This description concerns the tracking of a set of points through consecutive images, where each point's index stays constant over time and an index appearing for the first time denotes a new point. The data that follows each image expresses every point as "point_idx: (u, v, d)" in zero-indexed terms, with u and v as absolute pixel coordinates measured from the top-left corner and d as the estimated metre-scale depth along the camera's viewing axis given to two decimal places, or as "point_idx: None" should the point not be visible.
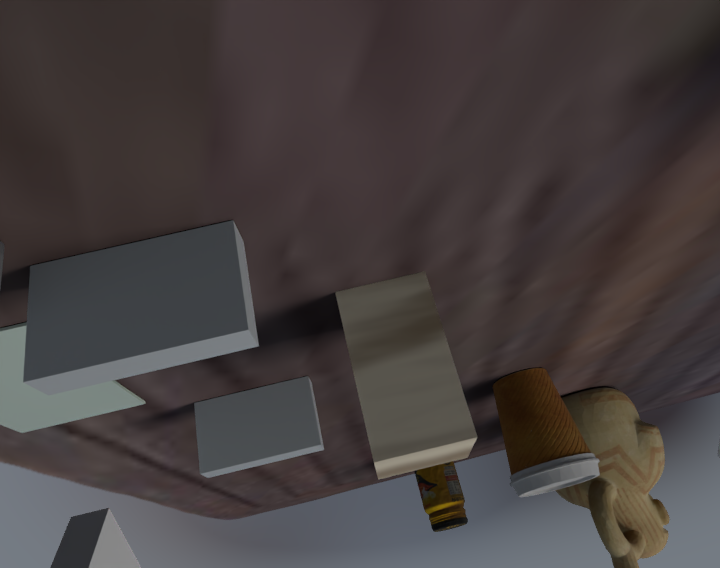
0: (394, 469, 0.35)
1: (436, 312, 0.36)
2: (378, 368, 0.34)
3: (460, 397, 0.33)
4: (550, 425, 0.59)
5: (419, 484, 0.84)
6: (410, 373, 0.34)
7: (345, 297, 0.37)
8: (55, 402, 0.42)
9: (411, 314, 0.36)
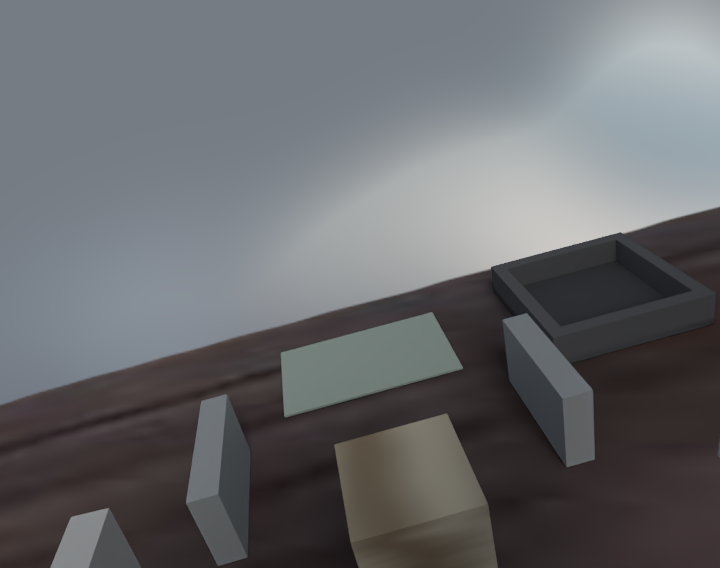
0: (380, 447, 0.28)
1: None
2: None
3: None
4: None
5: None
6: None
7: None
8: (328, 370, 0.53)
9: None
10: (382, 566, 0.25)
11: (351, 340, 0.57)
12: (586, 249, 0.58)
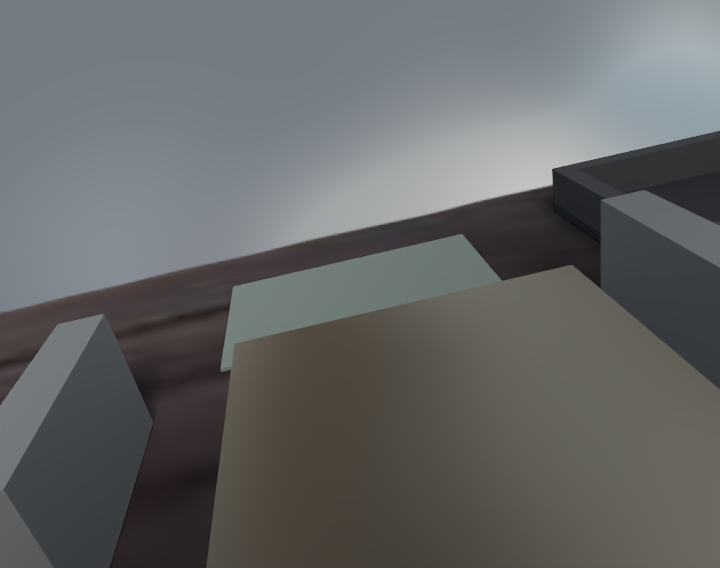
0: (372, 347, 0.09)
1: None
2: None
3: None
4: None
5: None
6: None
7: None
8: (300, 306, 0.34)
9: None
10: None
11: (339, 269, 0.38)
12: (697, 145, 0.38)
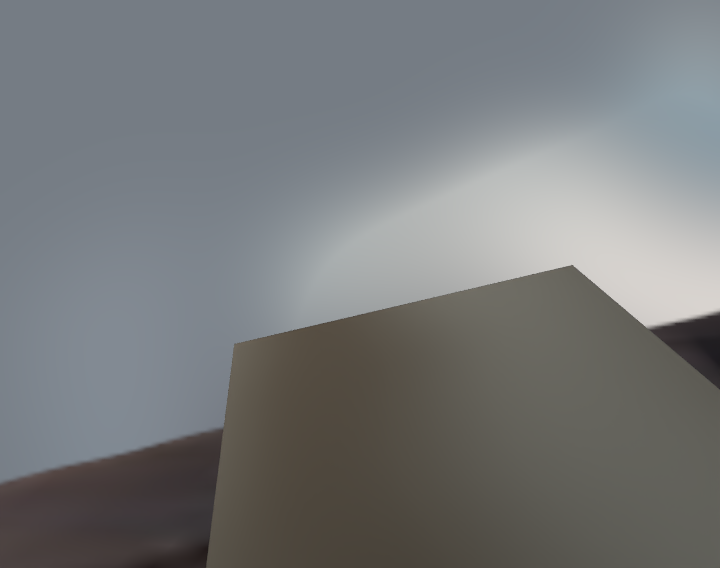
0: (372, 347, 0.09)
1: None
2: None
3: None
4: None
5: None
6: None
7: None
8: None
9: None
10: None
11: None
12: None
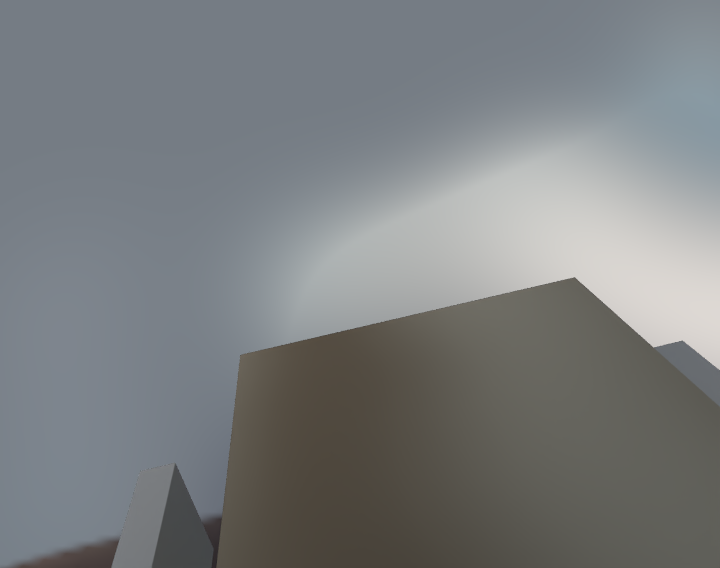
0: (376, 360, 0.09)
1: None
2: None
3: None
4: None
5: None
6: None
7: None
8: None
9: None
10: None
11: None
12: None
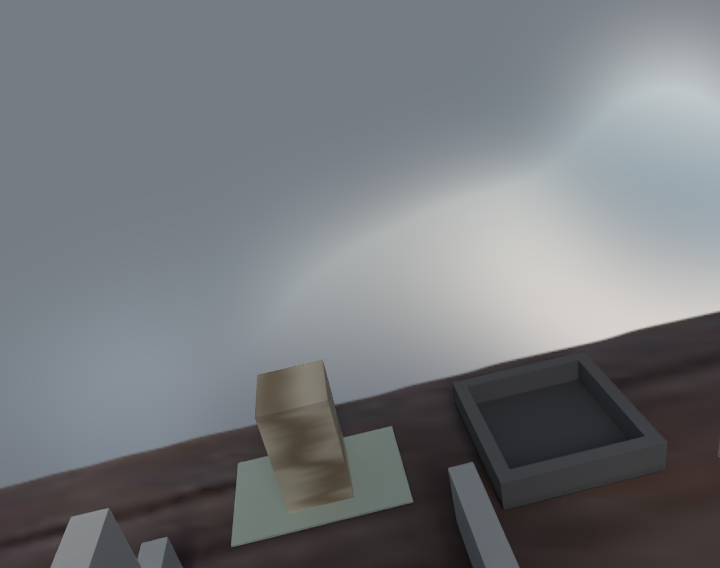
0: (281, 376, 0.50)
1: (347, 471, 0.50)
2: (336, 416, 0.52)
3: (333, 421, 0.47)
4: None
5: None
6: (336, 421, 0.50)
7: (346, 450, 0.55)
8: None
9: (345, 461, 0.51)
10: (273, 433, 0.47)
11: None
12: (548, 369, 0.57)
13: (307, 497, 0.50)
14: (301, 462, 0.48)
